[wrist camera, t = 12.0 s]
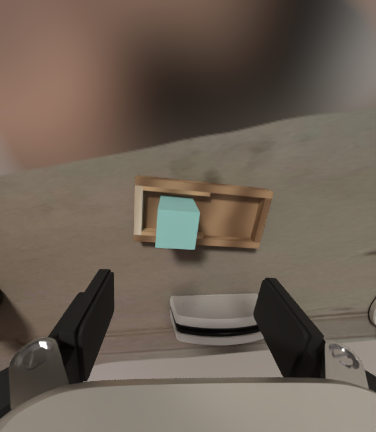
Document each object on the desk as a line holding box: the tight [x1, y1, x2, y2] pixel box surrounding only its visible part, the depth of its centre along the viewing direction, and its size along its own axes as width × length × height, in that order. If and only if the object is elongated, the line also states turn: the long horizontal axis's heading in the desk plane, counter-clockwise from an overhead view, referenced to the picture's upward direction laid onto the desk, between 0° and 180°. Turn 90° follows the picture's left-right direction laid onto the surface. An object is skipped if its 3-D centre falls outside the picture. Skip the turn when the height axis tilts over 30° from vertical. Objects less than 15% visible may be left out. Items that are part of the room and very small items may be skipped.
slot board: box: [134, 175, 274, 249], centre depth 27 cm, size 19×9×2 cm, turn 83°
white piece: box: [170, 293, 264, 345], centre depth 30 cm, size 17×5×10 cm, turn 87°
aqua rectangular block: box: [155, 195, 200, 250], centre depth 23 cm, size 4×4×7 cm
